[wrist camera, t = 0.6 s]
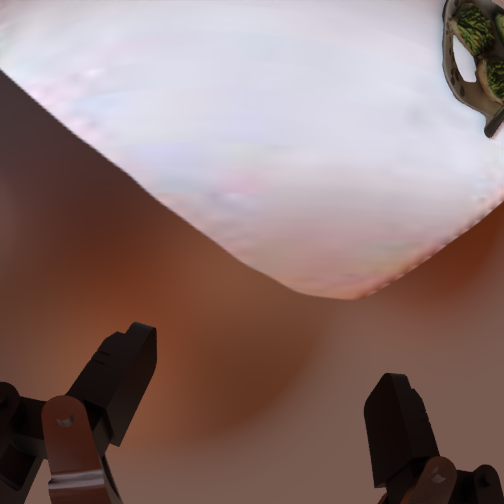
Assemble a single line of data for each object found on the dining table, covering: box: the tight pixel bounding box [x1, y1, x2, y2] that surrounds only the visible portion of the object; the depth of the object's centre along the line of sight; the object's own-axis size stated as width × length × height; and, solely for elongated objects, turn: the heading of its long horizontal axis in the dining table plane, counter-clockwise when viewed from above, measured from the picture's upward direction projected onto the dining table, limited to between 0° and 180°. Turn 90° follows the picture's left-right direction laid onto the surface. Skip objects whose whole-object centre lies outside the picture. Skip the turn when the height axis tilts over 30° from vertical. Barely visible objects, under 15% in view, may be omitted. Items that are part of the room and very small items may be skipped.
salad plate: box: [442, 0, 504, 138], centre depth 20 cm, size 19×18×5 cm
